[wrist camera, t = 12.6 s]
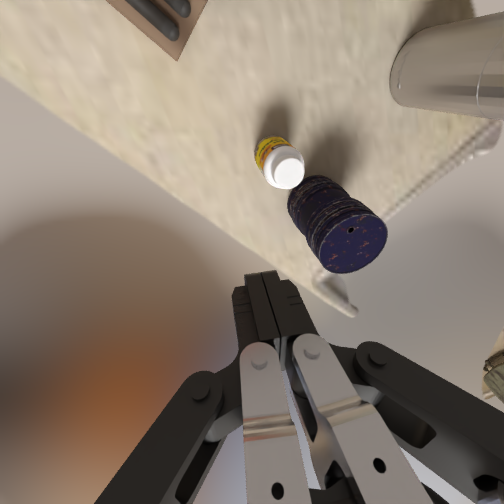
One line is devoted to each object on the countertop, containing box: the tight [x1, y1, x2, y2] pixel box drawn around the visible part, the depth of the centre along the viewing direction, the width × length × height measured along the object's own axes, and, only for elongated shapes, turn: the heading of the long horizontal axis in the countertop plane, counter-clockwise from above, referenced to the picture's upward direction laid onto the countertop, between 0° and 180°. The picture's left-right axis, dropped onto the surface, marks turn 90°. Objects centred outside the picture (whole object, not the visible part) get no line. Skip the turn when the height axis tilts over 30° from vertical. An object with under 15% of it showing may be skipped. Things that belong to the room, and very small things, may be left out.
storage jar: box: [287, 175, 388, 274], centre depth 39 cm, size 10×10×15 cm
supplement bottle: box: [255, 135, 304, 189], centre depth 35 cm, size 6×6×10 cm
